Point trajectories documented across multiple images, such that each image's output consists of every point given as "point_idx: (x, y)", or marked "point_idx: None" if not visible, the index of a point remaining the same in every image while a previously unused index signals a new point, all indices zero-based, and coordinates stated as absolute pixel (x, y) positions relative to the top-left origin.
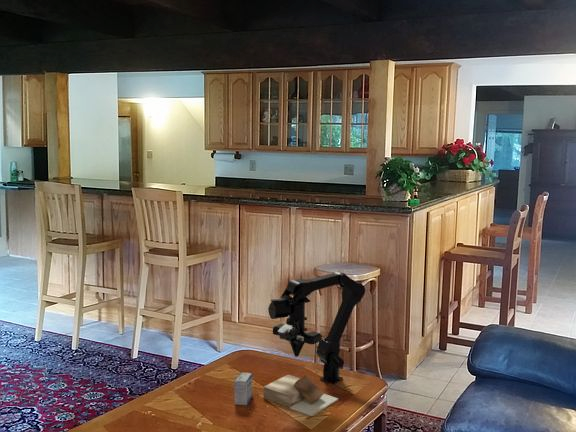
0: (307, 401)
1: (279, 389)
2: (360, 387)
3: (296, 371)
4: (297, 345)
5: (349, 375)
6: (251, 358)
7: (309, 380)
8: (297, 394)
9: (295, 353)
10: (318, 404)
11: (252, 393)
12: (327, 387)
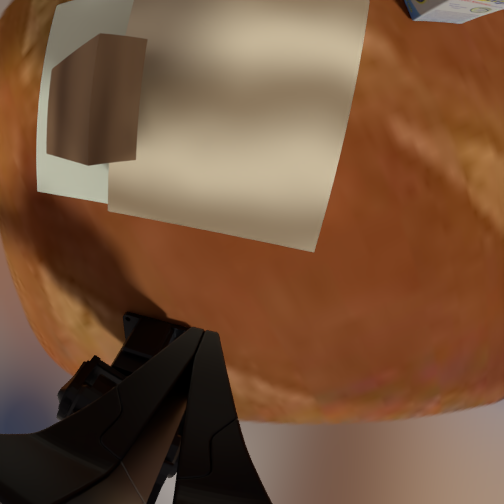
0: None
1: (245, 2)
2: (57, 316)
3: (329, 364)
4: (75, 432)
5: None
6: (499, 369)
7: (72, 148)
8: None
9: (194, 352)
10: None
11: (416, 15)
12: (128, 277)
